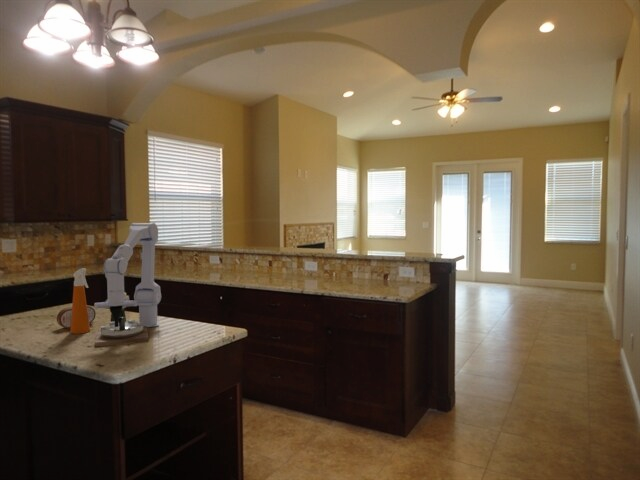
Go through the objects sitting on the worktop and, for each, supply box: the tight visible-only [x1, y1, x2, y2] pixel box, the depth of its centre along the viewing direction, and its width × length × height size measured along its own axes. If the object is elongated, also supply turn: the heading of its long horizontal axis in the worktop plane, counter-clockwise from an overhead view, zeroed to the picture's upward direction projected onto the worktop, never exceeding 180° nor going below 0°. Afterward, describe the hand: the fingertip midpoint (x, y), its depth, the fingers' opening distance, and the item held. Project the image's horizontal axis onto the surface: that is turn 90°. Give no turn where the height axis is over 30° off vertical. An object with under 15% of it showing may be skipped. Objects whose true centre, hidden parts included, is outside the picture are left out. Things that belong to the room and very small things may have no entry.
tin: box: [56, 304, 97, 329], centre depth 193 cm, size 15×3×8 cm, turn 141°
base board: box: [94, 326, 149, 348], centre depth 176 cm, size 18×18×2 cm
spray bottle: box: [70, 267, 91, 335], centre depth 182 cm, size 7×11×26 cm, turn 53°
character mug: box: [105, 291, 130, 322], centre depth 198 cm, size 11×7×13 cm, turn 148°
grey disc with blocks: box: [100, 317, 143, 338], centre depth 176 cm, size 15×15×7 cm
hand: (116, 326), depth 170 cm, fingers closed
